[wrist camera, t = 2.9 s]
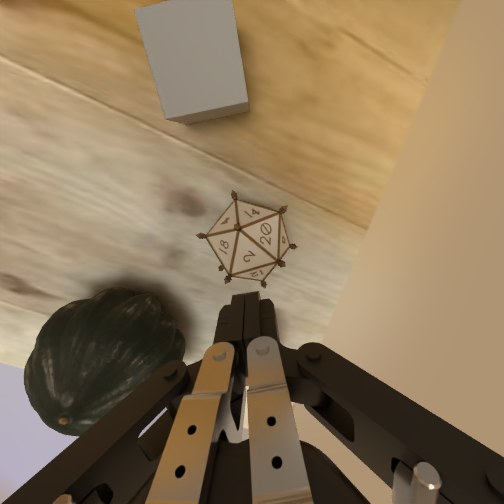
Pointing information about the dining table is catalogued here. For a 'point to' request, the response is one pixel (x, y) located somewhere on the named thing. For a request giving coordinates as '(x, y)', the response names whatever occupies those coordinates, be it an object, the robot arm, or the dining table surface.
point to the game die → (249, 240)
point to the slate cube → (194, 58)
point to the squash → (97, 356)
